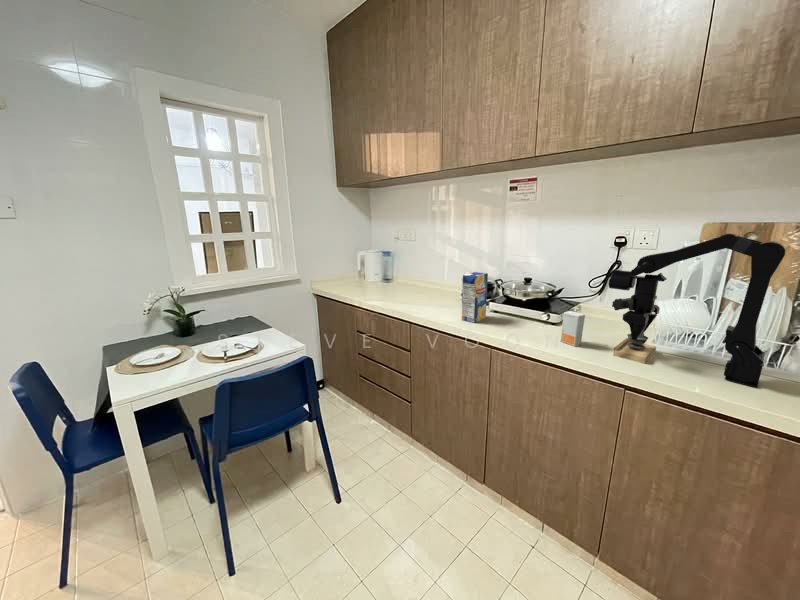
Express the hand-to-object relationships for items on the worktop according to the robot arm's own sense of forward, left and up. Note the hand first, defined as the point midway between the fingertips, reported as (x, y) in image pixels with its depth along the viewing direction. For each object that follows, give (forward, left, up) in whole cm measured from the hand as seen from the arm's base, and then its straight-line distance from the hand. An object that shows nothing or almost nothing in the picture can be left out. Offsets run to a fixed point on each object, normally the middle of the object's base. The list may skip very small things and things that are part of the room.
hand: (637, 336), depth 109 cm
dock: (0, 0, -6) cm, 6 cm away
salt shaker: (0, 0, -4) cm, 4 cm away
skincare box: (+19, +6, -7) cm, 21 cm away
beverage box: (+63, +8, -7) cm, 64 cm away
